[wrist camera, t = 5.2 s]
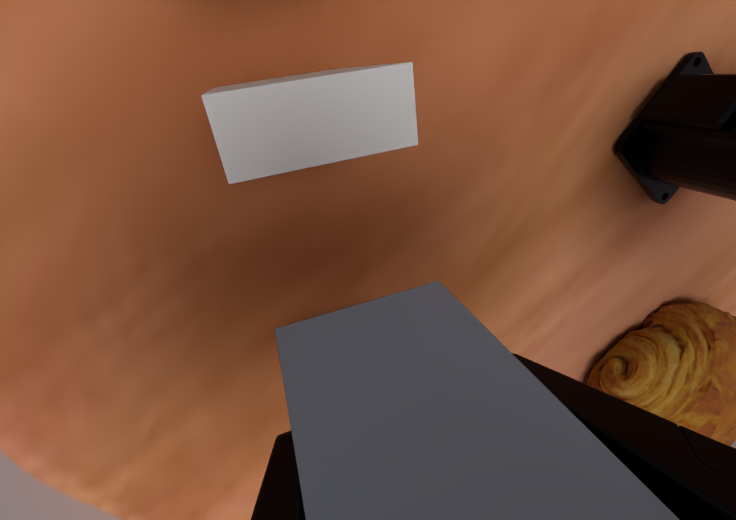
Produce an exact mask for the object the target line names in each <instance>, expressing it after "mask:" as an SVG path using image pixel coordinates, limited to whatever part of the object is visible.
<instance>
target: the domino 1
mask: <svg viewBox="0 0 736 520" xmlns="http://www.w3.org/2000/svg"><path fill="white" fill-rule="evenodd" d="M201 96H202V100H203V103H204V106H205V109H206V112H207V116H208V119H209V122H210V125H211V129H212V132H213V135H214V138H215V141H216V145H217V148H218V151H219V154H220V158H221V161H222V164H223V167H224V170H225V174H226V177H227V180H228V183H229V184H233V183H237V182H242V181H247V180H252V179H257V178H261V177H266V176H271V175H276V174H281V173H285V172H290V171H295V170H300V169H305V168H309V167H314V166H319V165H324V164H329V163H333V162H338V161H343V160H348V159H352V158H357V157H362V156H367V155H372V154H376V153H381V152H386V151H391V150H396V149H400V148H405V147H410V146H415V145H418V134H417V120H416V106H415V91H414V77H413V63H412V62H406V63H395V64H383V65H372V66H361V67H349V68H338V69H331V70H324V71H318V72H311V73H305V74H298V75H292V76H285V77H279V78H272V79H266V80H259V81H253V82H246V83H240V84H233V85H227V86H221V87H215V88H213V89H211V90H210V91H208V92H206V93H204V94H203V95H201Z"/></svg>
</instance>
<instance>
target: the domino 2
mask: <svg viewBox="0 0 736 520" xmlns="http://www.w3.org/2000/svg"><path fill="white" fill-rule="evenodd" d="M275 333H276V339H277V345H278V351H279V358H280V364H281V370H282V376H283V382H284V388H285V394H286V401H287V407H288V413H289V419H290V425H291V431H292V437H293V444H294V450H295V456H296V462H297V468H298V474H299V480H300V487H301V493H302V499H303V505H304V511H305V517H306V520H679V519H678V518H677V517H676V516H675V515H674V514H673V513H672V512H671V511H670V510H669V509H668V508H667V507H666V506H665V505H664V504H663V503H662V502H661V501H660V500H659V499H658V498H657V497H656V496H655V495H654V494H653V493H652V492H651V491H650V490H649V489H648V488H647V487H646V486H645V485H644V484H643V483H642V482H641V481H640V480H639V479H638V478H637V477H636V476H635V475H634V474H633V473H632V472H631V471H630V470H629V469H628V468H627V467H626V466H625V465H624V464H623V463H622V462H621V461H620V460H619V459H618V458H617V457H616V456H615V455H614V454H613V453H612V452H611V451H610V450H609V449H608V448H607V447H606V446H605V445H604V444H603V443H602V442H601V441H600V440H599V439H598V438H597V437H596V436H595V435H594V434H593V433H592V432H591V431H590V430H589V429H588V428H587V427H586V426H585V425H584V424H583V423H582V422H581V421H580V420H579V419H578V418H577V417H575V416H574V415H573V414H572V413H571V412H570V411H569V410H568V409H567V408H566V407H565V406H564V405H563V404H562V403H561V402H560V401H559V400H558V399H557V398H556V397H555V396H554V395H553V394H552V393H551V392H550V391H549V390H548V389H547V388H546V387H545V386H544V385H543V384H542V383H541V382H540V381H539V380H538V379H537V378H536V377H535V376H534V375H533V374H532V373H531V372H530V371H529V370H528V369H527V368H526V367H525V366H524V365H523V364H522V363H521V362H520V361H519V360H518V359H517V358H516V357H515V356H514V355H513V354H512V353H511V352H510V351H509V350H508V349H507V348H506V347H505V346H504V345H503V344H502V343H501V342H500V341H499V340H498V339H497V338H496V337H495V336H494V335H493V334H492V333H491V332H490V331H489V330H488V329H487V328H486V327H485V326H484V325H483V324H482V323H481V322H480V321H479V320H478V319H477V318H476V317H475V316H474V315H473V314H472V313H471V312H469V311H468V310H467V309H466V308H465V307H464V306H463V305H462V304H461V303H460V302H459V301H458V300H457V299H456V298H455V297H454V296H453V295H452V294H451V293H450V292H449V291H448V290H447V289H446V288H445V287H444V286H443V285H442V284H441V283H440V282H439V281H436V282H432V283H429V284H426V285H422V286H419V287H415V288H412V289H409V290H405V291H402V292H398V293H395V294H392V295H388V296H385V297H381V298H378V299H375V300H371V301H368V302H364V303H361V304H358V305H354V306H351V307H347V308H344V309H341V310H337V311H334V312H330V313H327V314H324V315H320V316H317V317H313V318H310V319H307V320H303V321H300V322H296V323H293V324H290V325H286V326H283V327H279V328H276V329H275Z"/></svg>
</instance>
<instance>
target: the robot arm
mask: <svg viewBox="0 0 736 520" xmlns="http://www.w3.org/2000/svg"><path fill="white" fill-rule="evenodd" d="M615 152H616V154H617V155H618V156H619V158H620V159H621V160H622V162H623V163H624V164H625V165H626V167H627V168H628V169H629V170H630V172H631V173H632V174H633V175H634V177H635V178H636V179H637V181H638V182H639V183H640V184H641V186H642V187H643V188H644V189H645V191H646V192H647V193H648V195H649V196H650V197H651V198H652V200H653V201H654V202H656V203H660V204H664V203H666V202H667V201H668V200H669V199H670V198H671V197H672V195H673V194H674V193H675V192H676V191H677V190H678V188H679V187H682V188H686V189H690V190H694V191H698V192H703V193H707V194H711V195H715V196H719V197H723V198H727V199H731V200H735V201H736V74H713V72H712V70H711V68H710V66H709V64H708V61H707V59H706V57H705V55H704V54H703V53H702V52H692V53H689V54H688V55H687V56H686V57H685V59H684V60H683V61H682V62H681V64H680V65H679V66H678V67H677V69H676V70H675V71H674V72H673V74H672V75H671V76H670V77H669V78H668V80H667V81H666V82H665V83H664V85H663V86H662V87H661V88H660V90H659V91H658V92H657V93H656V95H655V96H654V97H653V98H652V100H651V101H650V102H649V103H648V105H647V106H646V107H645V108H644V109H643V111H642V112H641V113H640V114H639V116H638V117H637V118H636V119H635V121H634V122H633V123H632V124H631V126H630V127H629V128H628V129H627V131H626V132H625V133H624V134H623V136H622V137H621V138H620V139H619V141H618V142H617V144H616V146H615ZM512 354H513V355H514V356H515V357H516V358H517V359H518V360H519V361H520V362H521V363H522V364H523V365H524V366H525V367H526V368H527V369H528V370H529V371H530V372H531V373H532V374H533V375H534V376H535V377H536V378H537V379H538V380H539V381H540V382H541V383H542V384H543V385H544V386H545V387H546V388H547V389H548V390H549V391H550V392H551V393H552V394H553V395H554V396H555V397H556V398H557V399H558V400H559V401H560V402H561V403H562V404H563V405H564V406H565V407H566V408H567V409H568V410H569V411H570V412H571V413H572V414H573V415H574V416H575V417H577V418H578V419H579V420H580V421H581V422H582V423H583V424H584V425H585V426H586V427H587V428H588V429H589V430H590V431H591V432H592V433H593V434H594V435H595V436H596V437H597V438H598V439H599V440H600V441H601V442H602V443H603V444H604V445H605V446H606V447H607V448H608V449H609V450H610V451H611V452H612V453H613V454H614V455H615V456H616V457H617V458H618V459H619V460H620V461H621V462H622V463H623V464H624V465H625V466H626V467H627V468H628V469H629V470H630V471H631V472H632V473H633V474H634V475H635V476H636V477H637V478H638V479H639V480H640V481H641V482H642V483H643V484H644V485H645V486H646V487H647V488H648V489H649V490H650V491H651V492H652V493H653V494H654V495H655V496H656V497H657V498H658V499H659V500H660V501H661V502H662V503H663V504H664V505H665V506H666V507H667V508H668V509H669V510H670V511H671V512H672V513H673V514H674V515H675V516H676V517H677V518H678V519H679V520H736V448H733V447H731V446H728V445H726V444H724V443H721V442H719V441H716V440H714V439H712V438H709V437H707V436H704V435H702V434H700V433H697V432H695V431H693V430H690V429H688V428H686V427H683V426H678V425H677V424H676V423H674V422H672V421H669V420H667V419H665V418H662V417H660V416H658V415H656V414H653V413H651V412H649V411H646V410H644V409H642V408H639V407H637V406H635V405H632V404H630V403H628V402H626V401H623V400H621V399H619V398H616V397H614V396H612V395H609V394H607V393H605V392H603V391H600V390H598V389H596V388H593V387H591V386H589V385H586V384H584V383H582V382H579V381H577V380H575V379H573V378H570V377H568V376H566V375H563V374H561V373H559V372H556V371H554V370H552V369H549V368H547V367H545V366H543V365H540V364H538V363H536V362H533V361H531V360H529V359H526V358H524V357H522V356H520V355H517V354H514V353H512ZM251 520H306V517H305V511H304V505H303V499H302V493H301V487H300V480H299V474H298V468H297V462H296V456H295V450H294V444H293V437H292V431H288V432H285V433H283V434H280V435H278V436H277V438H276V440H275V443H274V446H273V449H272V453H271V456H270V459H269V462H268V465H267V469H266V472H265V475H264V478H263V482H262V485H261V488H260V491H259V494H258V498H257V501H256V504H255V507H254V511H253V514H252V517H251Z"/></svg>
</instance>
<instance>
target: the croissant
mask: <svg viewBox="0 0 736 520" xmlns="http://www.w3.org/2000/svg"><path fill="white" fill-rule="evenodd" d="M643 328H644V329H641V330H635V331H629V332H628V334H627V335H626V336H625V337H624V338H623V339H622V340H620V341H619V342H618V343H617V344H616V345H615V346H614V347H613V348H612V349H610V350H609V351H608V352H607V354H606V355H605V356H604V357H603V358H602V359H600V360H599V361H598V362H597V363H596V364H595V365H594V366H593V368H592V370H591V372H590V375H589V377H588V379H587V385H589V386H591V387H593V388H596V389H598V390H600V391H603V392H605V393H607V394H609V395H612V396H614V397H616V398H619V399H621V400H623V401H626V402H628V403H630V404H632V405H635V406H637V407H639V408H642V409H644V410H646V411H649V412H651V413H653V414H656V415H658V416H660V417H662V418H665V419H667V420H669V421H672V422H674V423H676V424H677V425H678V426H683V427H686V428H688V429H690V430H693V431H695V432H697V433H700V434H702V435H704V436H707V437H709V438H712V439H714V440H716V441H719V442H721V443H724V444H726V445H728V446H731V444H732V443H733V442H734V441H735V440H736V316H732V315H731V314H729V313H727V312H723V311H721V310H719V309H716V308H713V307H711V306H709V305H707V304H703V303H697V302H695V303H680V304H671V305H667V306H662V307H661V308H660V310H658V312H657V313H650V314H649V316H648V317H647V318H646V319H645V320H644V322H643Z"/></svg>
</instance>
